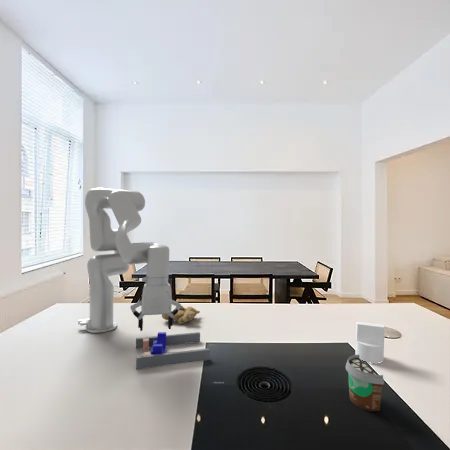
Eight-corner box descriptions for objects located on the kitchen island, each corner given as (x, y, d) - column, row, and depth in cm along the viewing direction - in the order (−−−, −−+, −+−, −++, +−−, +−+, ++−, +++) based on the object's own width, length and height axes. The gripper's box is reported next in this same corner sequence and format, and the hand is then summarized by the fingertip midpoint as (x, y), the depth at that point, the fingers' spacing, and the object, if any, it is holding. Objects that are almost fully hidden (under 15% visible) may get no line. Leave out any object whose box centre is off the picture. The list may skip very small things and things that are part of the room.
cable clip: (153, 348, 111) (154, 332, 111) (166, 348, 112) (166, 332, 111) (147, 364, 99) (148, 346, 99) (161, 363, 100) (161, 346, 99)
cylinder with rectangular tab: (381, 354, 109) (382, 321, 109) (385, 366, 101) (386, 330, 100) (354, 350, 112) (355, 318, 112) (356, 361, 104) (357, 326, 103)
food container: (336, 388, 87) (337, 354, 86) (357, 387, 87) (358, 353, 87) (359, 416, 74) (360, 376, 74) (383, 415, 75) (384, 376, 75)
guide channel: (136, 369, 95) (136, 358, 95) (135, 347, 111) (135, 338, 111) (209, 359, 102) (209, 349, 102) (199, 340, 118) (199, 332, 118)
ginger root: (208, 316, 144) (205, 300, 142) (187, 334, 131) (184, 317, 130) (183, 311, 153) (180, 296, 151) (161, 327, 140) (158, 312, 138)
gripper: (131, 283, 99) (129, 334, 100) (183, 282, 104) (181, 331, 105) (131, 278, 106) (129, 326, 107) (180, 277, 111) (178, 323, 112)
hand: (155, 328), depth 106 cm, fingers open, 9 cm apart
